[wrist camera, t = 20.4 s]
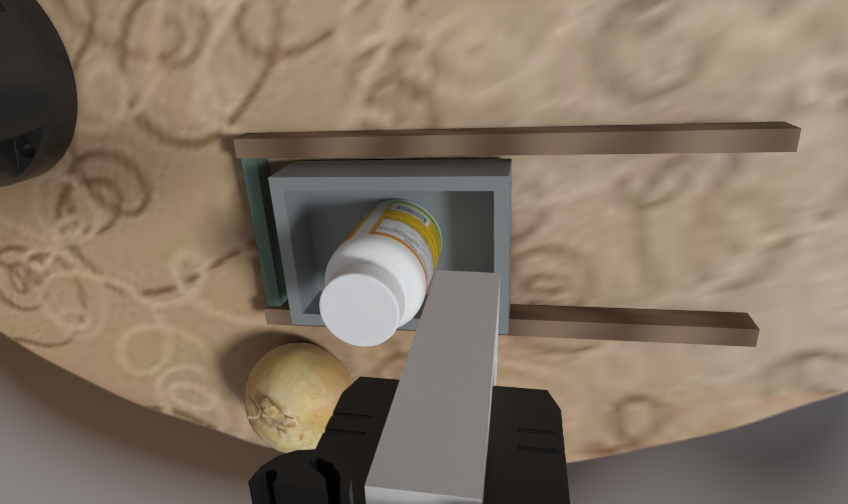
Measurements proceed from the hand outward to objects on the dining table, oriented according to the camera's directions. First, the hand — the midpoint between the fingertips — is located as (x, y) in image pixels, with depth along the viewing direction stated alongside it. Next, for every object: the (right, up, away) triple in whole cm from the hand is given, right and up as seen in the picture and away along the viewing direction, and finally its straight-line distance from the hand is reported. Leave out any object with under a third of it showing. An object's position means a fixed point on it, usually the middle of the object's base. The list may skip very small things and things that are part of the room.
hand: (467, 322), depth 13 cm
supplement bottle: (-2, +3, +22) cm, 22 cm away
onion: (-9, -8, +29) cm, 32 cm away
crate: (-2, +3, +22) cm, 23 cm away
